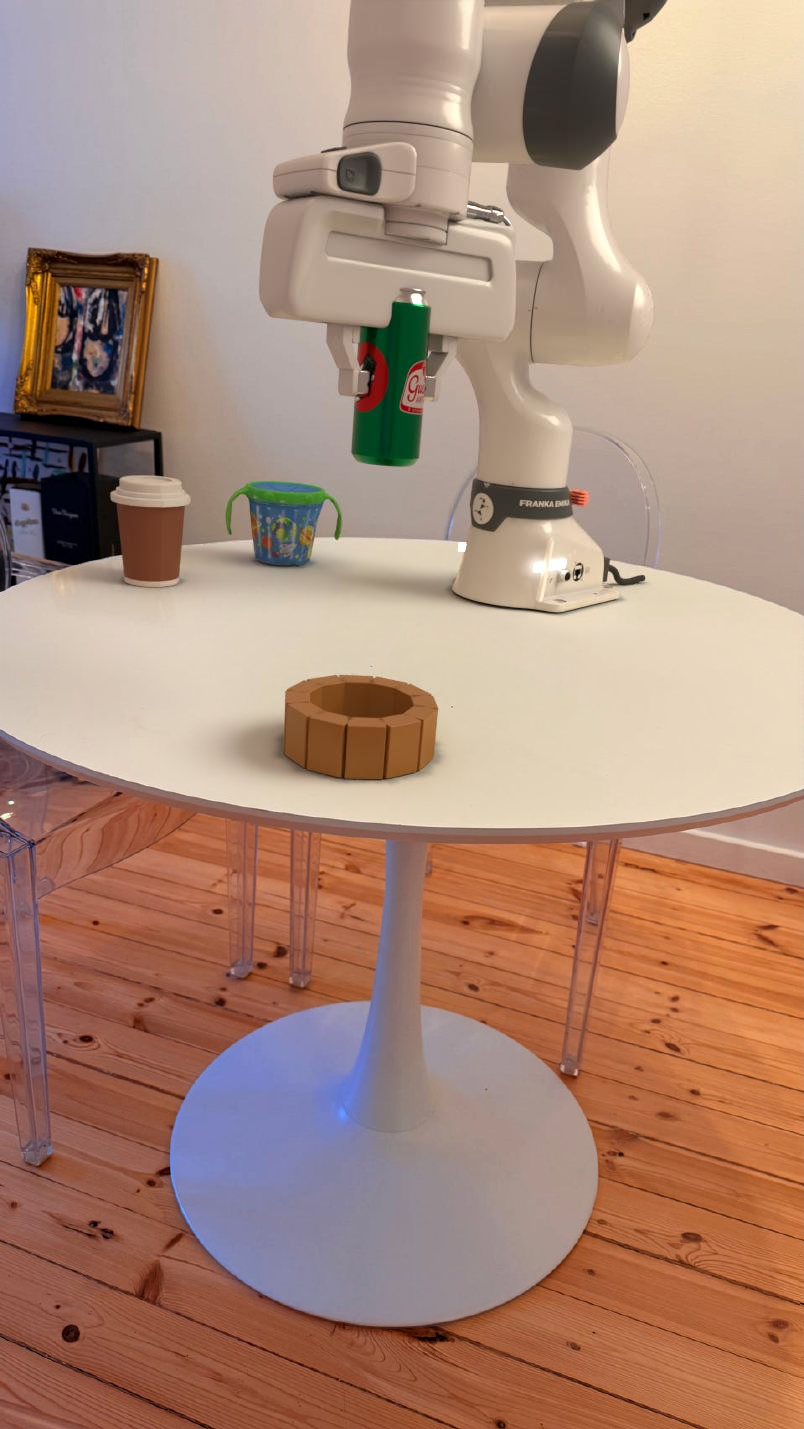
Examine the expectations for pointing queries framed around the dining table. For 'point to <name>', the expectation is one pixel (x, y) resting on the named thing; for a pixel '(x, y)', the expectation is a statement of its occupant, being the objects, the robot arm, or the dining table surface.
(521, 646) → the dining table surface
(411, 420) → the soda can
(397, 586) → the dining table surface
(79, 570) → the dining table surface
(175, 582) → the coffee cup
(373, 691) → the brown segmented block ring
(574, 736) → the dining table surface
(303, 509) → the snack cup
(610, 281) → the robot arm
